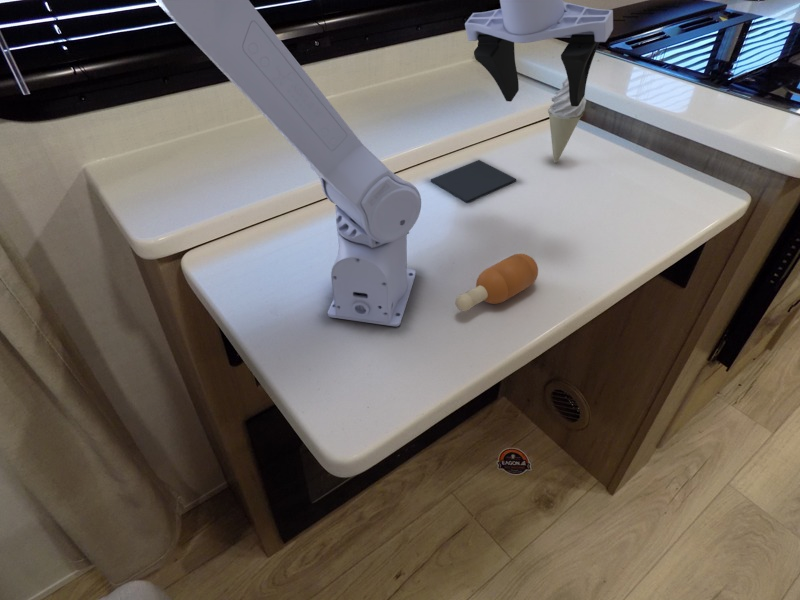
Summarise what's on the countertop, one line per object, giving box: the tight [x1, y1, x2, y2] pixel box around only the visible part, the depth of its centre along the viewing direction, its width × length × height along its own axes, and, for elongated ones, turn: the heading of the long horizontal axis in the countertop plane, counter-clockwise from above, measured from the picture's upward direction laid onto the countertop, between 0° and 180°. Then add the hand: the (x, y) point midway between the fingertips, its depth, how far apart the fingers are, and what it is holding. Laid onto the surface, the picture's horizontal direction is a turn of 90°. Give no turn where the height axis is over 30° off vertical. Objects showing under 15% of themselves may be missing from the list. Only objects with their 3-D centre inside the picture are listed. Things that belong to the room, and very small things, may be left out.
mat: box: [430, 159, 517, 204], centre depth 79 cm, size 10×8×1 cm
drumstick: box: [455, 253, 539, 312], centre depth 58 cm, size 11×4×4 cm, turn 127°
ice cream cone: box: [547, 76, 587, 164], centre depth 78 cm, size 5×5×15 cm
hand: (544, 98), depth 58 cm, fingers open, 7 cm apart
